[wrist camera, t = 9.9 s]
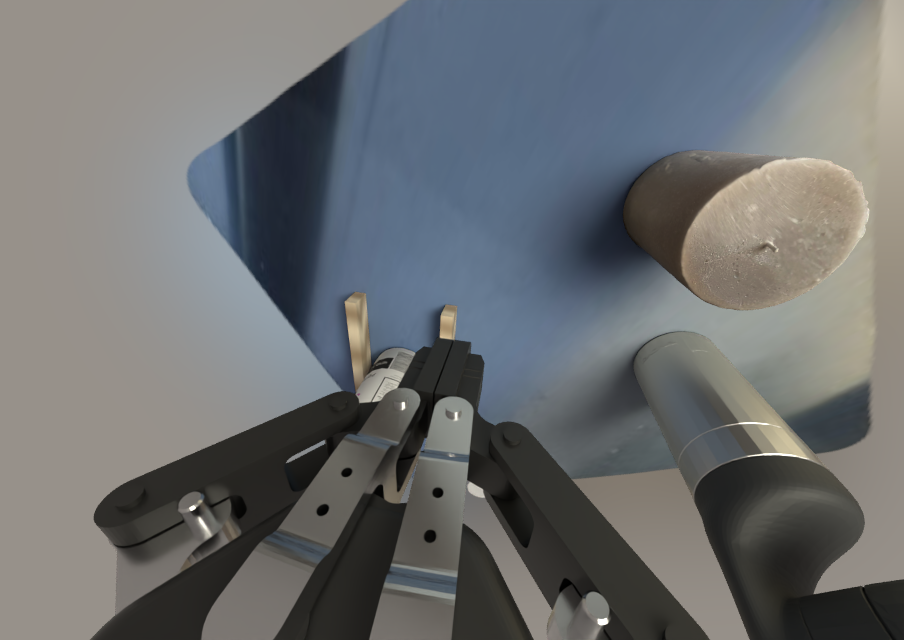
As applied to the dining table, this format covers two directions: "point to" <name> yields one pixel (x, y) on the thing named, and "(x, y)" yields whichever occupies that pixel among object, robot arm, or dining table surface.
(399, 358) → the supplement can
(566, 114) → the dining table surface
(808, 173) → the pillar candle
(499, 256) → the dining table surface
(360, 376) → the bay
